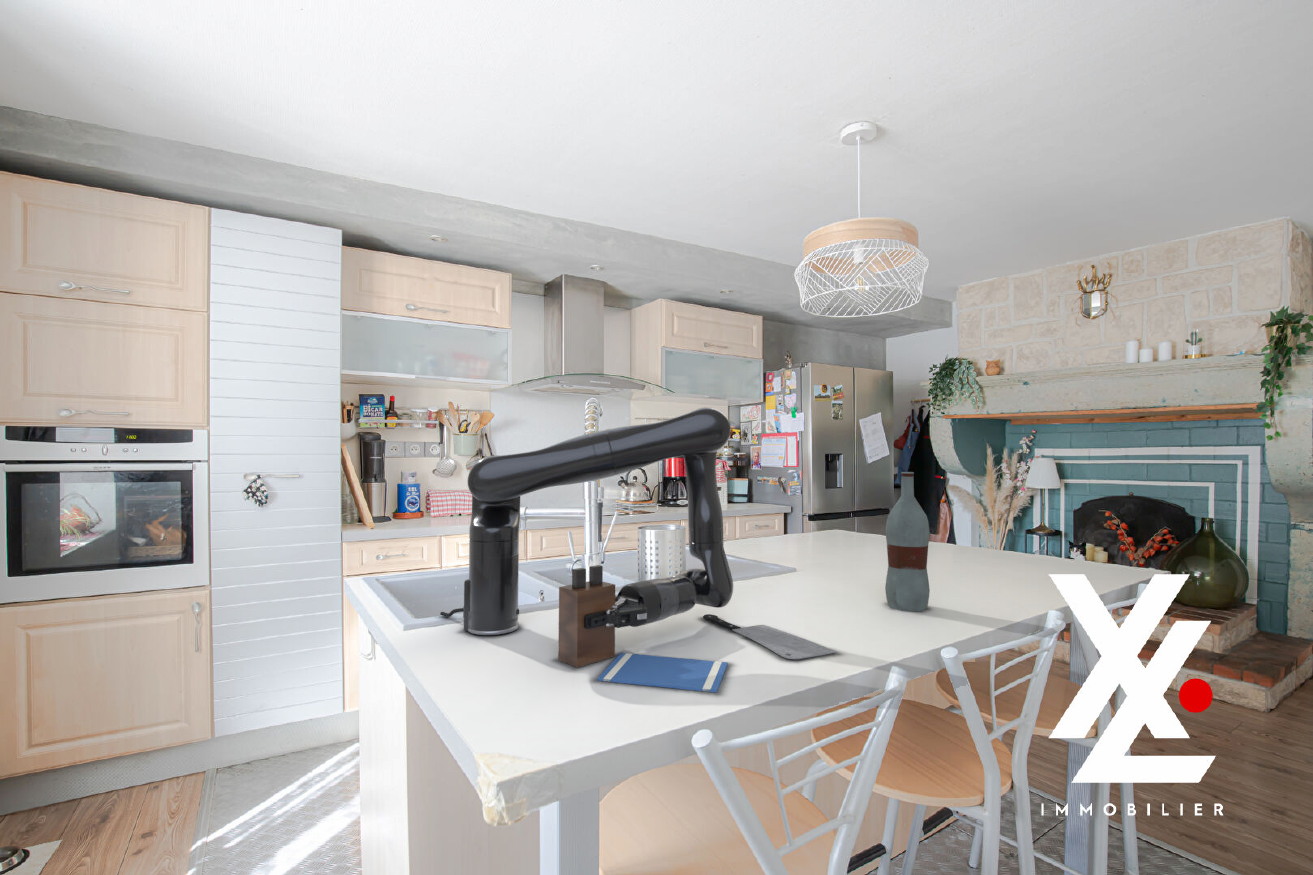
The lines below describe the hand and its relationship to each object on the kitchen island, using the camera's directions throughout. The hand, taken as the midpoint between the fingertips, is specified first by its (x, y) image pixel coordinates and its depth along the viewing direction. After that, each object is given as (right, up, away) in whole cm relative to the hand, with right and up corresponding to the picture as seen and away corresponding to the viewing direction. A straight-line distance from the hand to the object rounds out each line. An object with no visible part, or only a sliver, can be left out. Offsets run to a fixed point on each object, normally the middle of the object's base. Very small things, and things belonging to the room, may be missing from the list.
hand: (574, 618), depth 102 cm
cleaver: (+33, -8, +16) cm, 37 cm away
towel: (+15, -7, -4) cm, 17 cm away
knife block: (+2, -7, +2) cm, 7 cm away
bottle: (+69, -8, +38) cm, 79 cm away
